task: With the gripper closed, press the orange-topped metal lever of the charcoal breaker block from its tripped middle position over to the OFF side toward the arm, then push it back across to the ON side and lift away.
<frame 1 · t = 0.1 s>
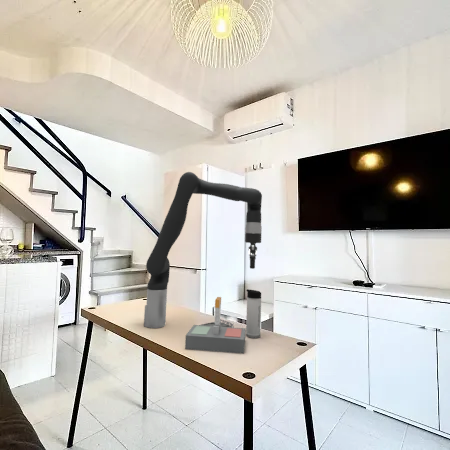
hand: (252, 267, 130), 29 cm above the table, tool pointing down, fingers open, 8 cm apart
travel mug: (252, 336, 123), on the table
breaker lever: (217, 327, 112), point 6 cm above the table, hinge at 0.0°
graphics card: (211, 331, 130), on the table
breaker base: (216, 344, 112), on the table
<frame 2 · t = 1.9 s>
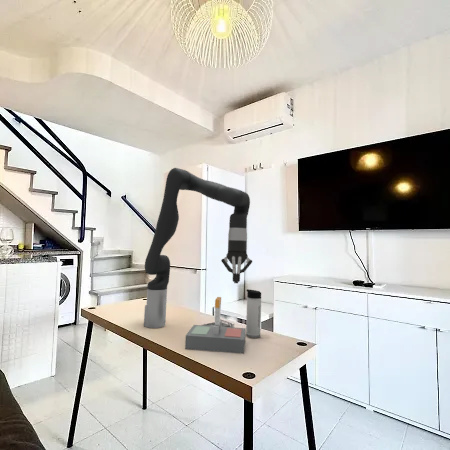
hand: (236, 283, 112), 24 cm above the table, tool pointing down, fingers closed
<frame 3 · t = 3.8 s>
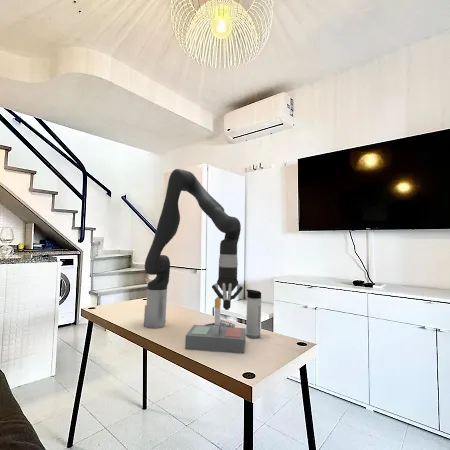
hand: (226, 309, 112), 14 cm above the table, tool pointing down, fingers closed
breaker lever: (217, 327, 112), point 6 cm above the table, hinge at -0.8°, touching gripper
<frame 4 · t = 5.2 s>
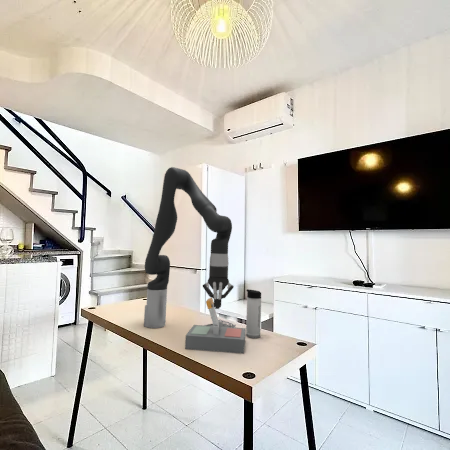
hand: (217, 308, 112), 14 cm above the table, tool pointing down, fingers closed
breaker lever: (217, 327, 112), point 6 cm above the table, hinge at -19.0°
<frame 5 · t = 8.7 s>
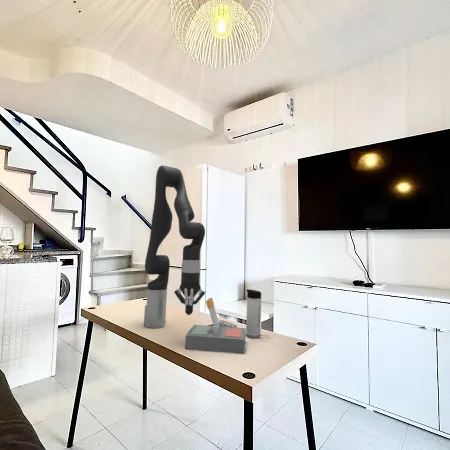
hand: (189, 314, 114), 11 cm above the table, tool pointing down, fingers closed
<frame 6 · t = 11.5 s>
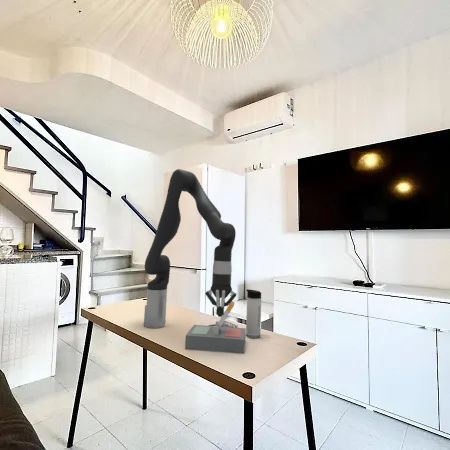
hand: (220, 316, 112), 11 cm above the table, tool pointing down, fingers closed
breaker lever: (217, 327, 112), point 6 cm above the table, hinge at 30.2°, touching gripper
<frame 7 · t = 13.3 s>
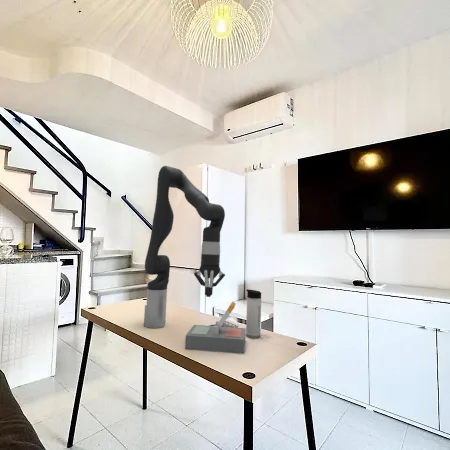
hand: (208, 296, 113), 19 cm above the table, tool pointing down, fingers closed
breaker lever: (217, 327, 112), point 6 cm above the table, hinge at 32.8°
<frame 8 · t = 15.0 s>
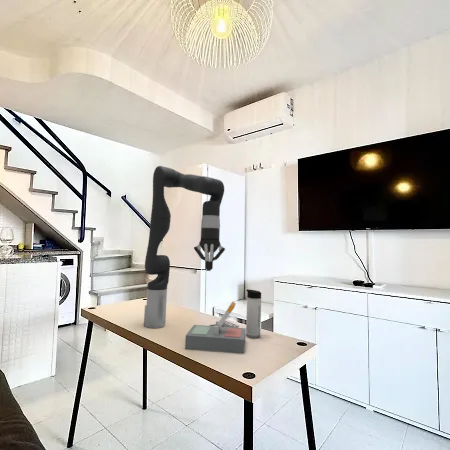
hand: (208, 270, 112), 29 cm above the table, tool pointing down, fingers closed
at the end: breaker lever at +33° (first picture: +0°); travel mug moved 0.2 cm from its start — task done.
